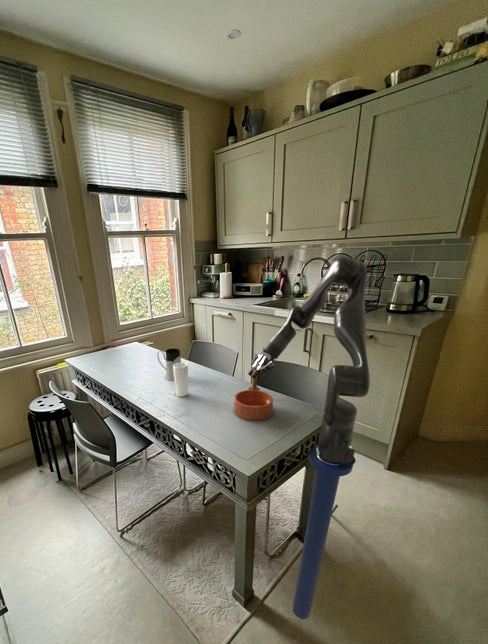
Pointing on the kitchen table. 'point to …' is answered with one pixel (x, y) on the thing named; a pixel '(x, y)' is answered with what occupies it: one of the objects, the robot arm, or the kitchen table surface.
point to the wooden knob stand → (254, 381)
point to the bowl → (253, 404)
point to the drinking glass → (180, 378)
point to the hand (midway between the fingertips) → (251, 376)
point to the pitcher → (171, 361)
